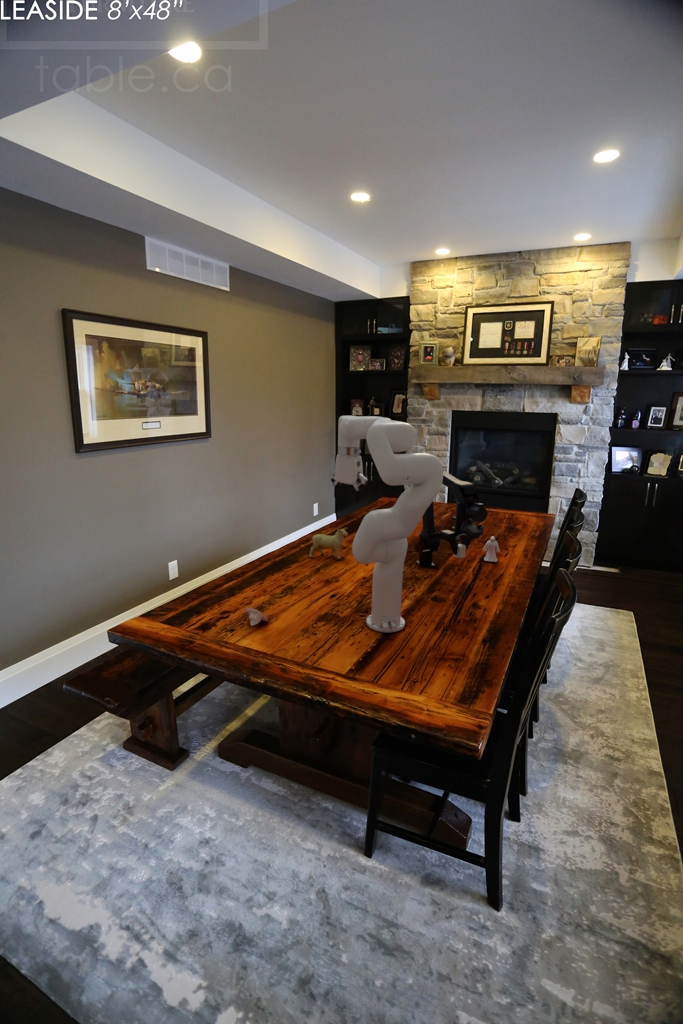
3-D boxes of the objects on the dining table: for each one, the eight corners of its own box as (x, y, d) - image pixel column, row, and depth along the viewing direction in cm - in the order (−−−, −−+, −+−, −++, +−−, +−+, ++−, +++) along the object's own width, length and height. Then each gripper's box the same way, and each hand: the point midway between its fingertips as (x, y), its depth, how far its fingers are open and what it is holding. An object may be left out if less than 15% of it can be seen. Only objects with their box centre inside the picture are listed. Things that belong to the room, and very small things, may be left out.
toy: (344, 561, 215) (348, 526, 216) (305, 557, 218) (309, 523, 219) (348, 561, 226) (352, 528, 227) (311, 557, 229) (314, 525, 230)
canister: (466, 555, 198) (467, 545, 197) (462, 558, 194) (463, 548, 193) (455, 553, 200) (456, 543, 199) (452, 556, 196) (453, 545, 195)
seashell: (251, 634, 162) (235, 615, 161) (262, 623, 165) (246, 604, 164) (262, 630, 156) (245, 610, 155) (273, 618, 159) (257, 599, 158)
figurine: (481, 562, 222) (483, 536, 219) (482, 556, 230) (484, 531, 227) (499, 564, 220) (501, 538, 217) (499, 558, 228) (501, 533, 225)
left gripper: (374, 453, 172) (372, 501, 176) (337, 448, 184) (337, 493, 188) (360, 455, 167) (359, 504, 171) (323, 450, 178) (323, 496, 182)
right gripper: (460, 523, 181) (456, 564, 185) (495, 517, 191) (491, 556, 195) (439, 516, 191) (436, 555, 194) (474, 511, 200) (470, 548, 204)
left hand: (347, 499), depth 179 cm, fingers open, 9 cm apart
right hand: (459, 553), depth 197 cm, fingers closed on canister, 4 cm apart
